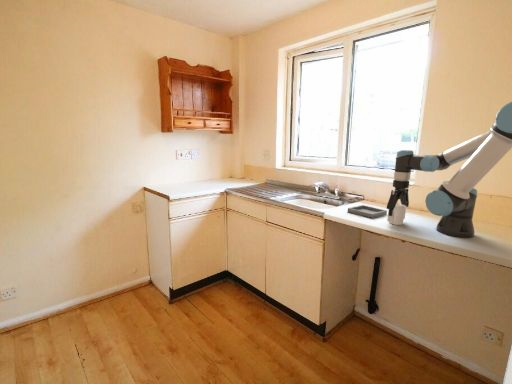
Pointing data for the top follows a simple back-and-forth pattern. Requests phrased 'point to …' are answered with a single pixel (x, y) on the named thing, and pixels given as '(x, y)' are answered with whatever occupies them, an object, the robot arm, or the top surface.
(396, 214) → the white cup
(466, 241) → the top surface
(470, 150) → the robot arm
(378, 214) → the tray
